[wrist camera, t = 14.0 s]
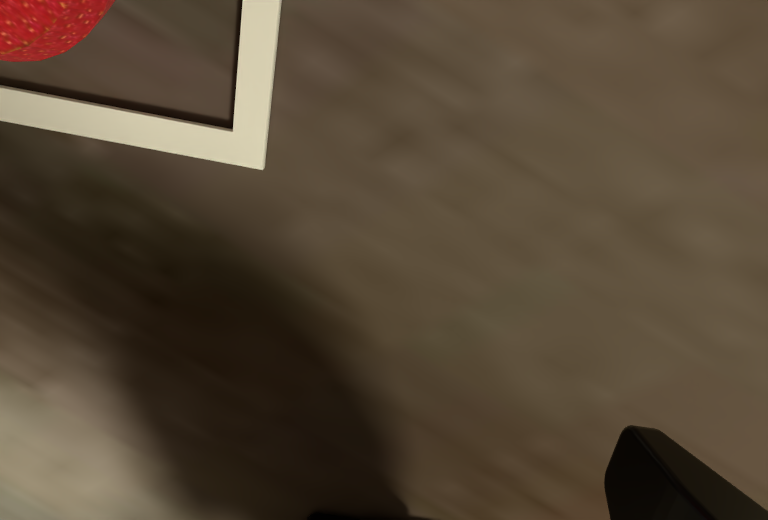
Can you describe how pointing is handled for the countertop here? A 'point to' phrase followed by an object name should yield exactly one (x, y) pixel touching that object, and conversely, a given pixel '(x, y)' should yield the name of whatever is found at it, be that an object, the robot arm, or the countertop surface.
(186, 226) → the countertop surface
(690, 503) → the robot arm
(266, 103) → the print frame
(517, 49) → the countertop surface
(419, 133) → the countertop surface
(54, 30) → the strawberry
